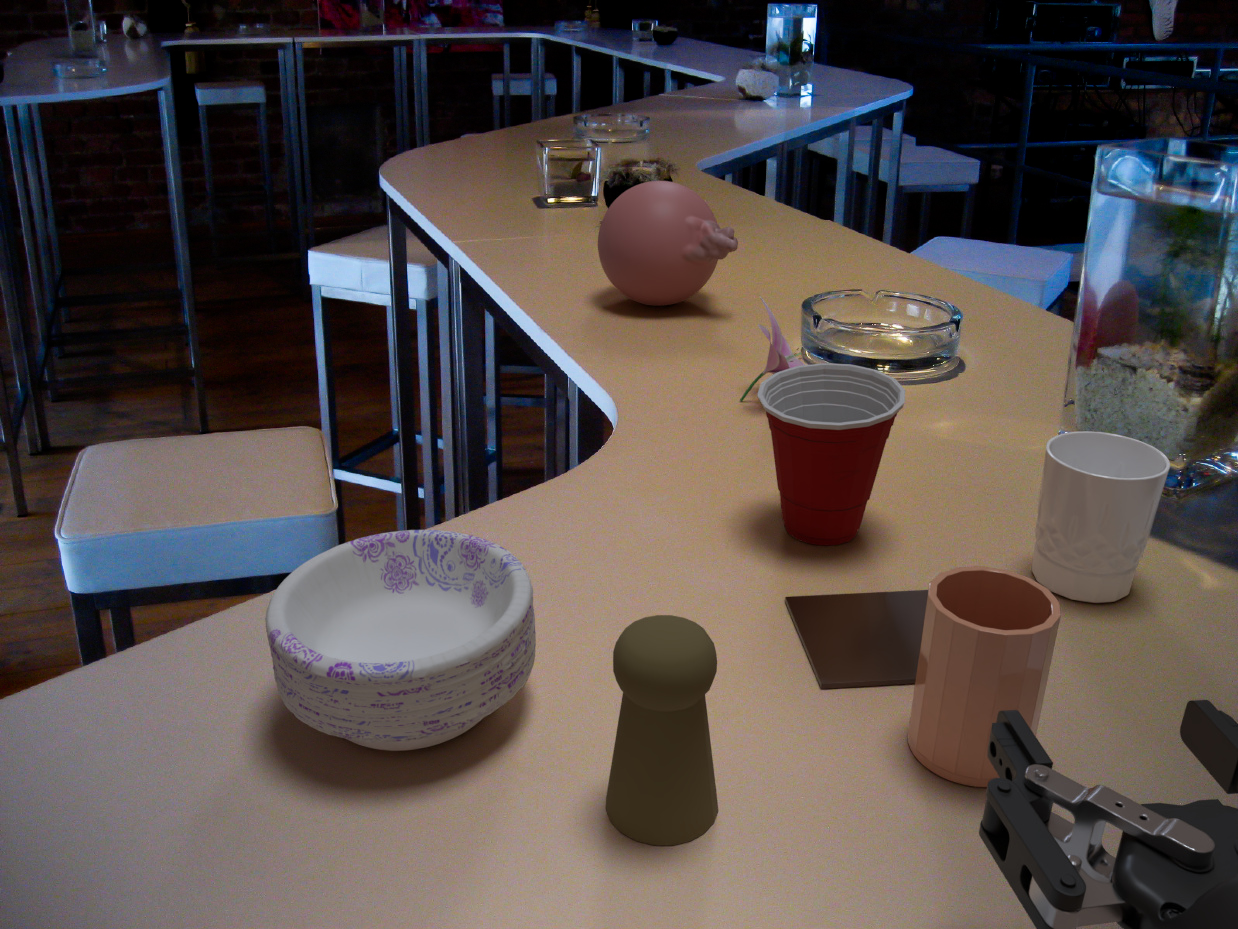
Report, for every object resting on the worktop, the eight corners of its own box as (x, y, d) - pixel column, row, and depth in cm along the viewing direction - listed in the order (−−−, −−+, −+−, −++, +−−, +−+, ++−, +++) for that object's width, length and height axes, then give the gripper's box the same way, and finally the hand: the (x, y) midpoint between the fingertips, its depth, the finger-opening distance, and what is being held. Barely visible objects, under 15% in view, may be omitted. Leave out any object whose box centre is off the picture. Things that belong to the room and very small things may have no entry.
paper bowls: (251, 791, 59) (228, 671, 55) (315, 631, 73) (300, 527, 69) (531, 787, 59) (526, 667, 56) (543, 628, 73) (539, 524, 69)
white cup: (1035, 542, 83) (1058, 422, 79) (1147, 569, 80) (1176, 445, 75) (1012, 589, 77) (1035, 462, 73) (1131, 620, 74) (1162, 489, 69)
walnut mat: (978, 591, 77) (979, 587, 77) (1040, 677, 68) (1041, 671, 68) (784, 601, 76) (785, 596, 76) (821, 689, 67) (821, 683, 67)
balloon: (685, 339, 127) (688, 206, 120) (573, 302, 140) (571, 181, 133) (770, 311, 136) (778, 187, 130) (658, 279, 149) (660, 165, 143)
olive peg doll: (581, 803, 58) (578, 631, 53) (659, 750, 62) (663, 585, 57) (664, 864, 54) (668, 685, 49) (741, 804, 58) (752, 632, 53)
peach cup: (1000, 707, 65) (1027, 563, 61) (1050, 784, 59) (1083, 631, 55) (892, 713, 65) (911, 568, 61) (930, 791, 59) (955, 637, 55)
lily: (776, 446, 102) (834, 361, 99) (683, 375, 106) (735, 291, 103) (817, 439, 112) (870, 362, 109) (731, 374, 116) (780, 298, 113)
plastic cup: (721, 526, 86) (727, 384, 81) (809, 485, 92) (820, 351, 87) (830, 580, 78) (844, 428, 73) (917, 532, 85) (936, 389, 80)
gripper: (1622, 956, 32) (1273, 640, 46) (1157, 993, 31) (949, 657, 45) (1530, 1122, 35) (1230, 778, 50) (1106, 1160, 34) (927, 797, 48)
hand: (1097, 720), depth 47 cm, fingers open, 8 cm apart
